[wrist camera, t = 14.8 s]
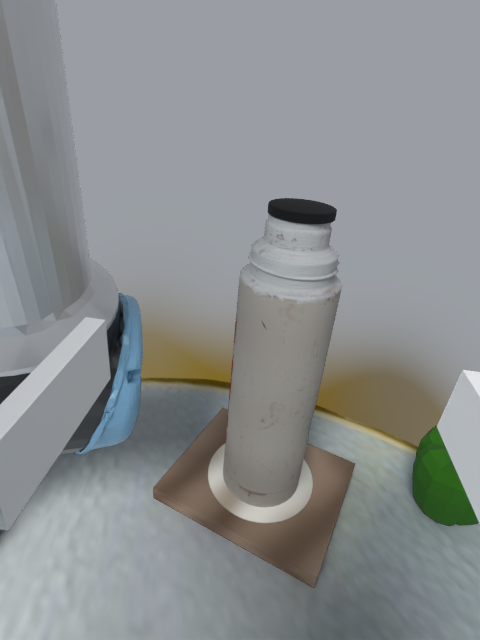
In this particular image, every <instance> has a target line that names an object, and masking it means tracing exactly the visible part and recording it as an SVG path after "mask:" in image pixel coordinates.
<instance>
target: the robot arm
mask: <svg viewBox="0 0 480 640" xmlns="http://www.w3.org/2000/svg"><path fill="white" fill-rule="evenodd" d="M142 348H143V347H142V322H141V314H140V308H139V304H138V302H137V300H136V299H135V298H134V297H131V296H128V295H127V296H126V295H123V294H122V293H118V289H117V286H116V284H115V282H114V280H113V277H112V276H111V274H110V273H109V272H108V271H107V270H106V269H105V268H104V267H103V266H101V264H99V263H98V262H96V261H95V260H93V259H91V258H90V257H89V249H88V241H87V234H86V227H85V219H84V211H83V204H82V196H81V188H80V180H79V173H78V166H77V158H76V150H75V143H74V135H73V127H72V119H71V113H70V105H69V96H68V89H67V82H66V74H65V67H64V58H63V52H62V43H61V35H60V28H59V20H58V13H57V5H56V0H0V529H1V530H7V531H9V529H10V528H11V526H12V525H13V523H14V522H15V520H16V519H17V517H18V516H19V514H20V513H21V511H22V510H23V508H24V507H25V505H26V504H27V502H28V501H29V499H30V498H31V496H32V495H33V493H34V492H35V490H36V489H37V487H38V486H39V485H40V483H41V482H42V480H43V479H44V477H45V476H46V474H47V473H48V471H49V470H50V468H51V467H52V465H53V464H54V462H55V461H56V459H57V458H58V456H59V455H60V454H67V453H74V454H85V453H87V452H88V451H90V450H92V449H98V448H103V447H108V446H113V445H117V444H119V443H121V442H123V441H124V440H126V439H127V438H128V437H129V436H130V434H131V433H132V431H133V429H134V427H135V424H136V420H137V416H138V410H139V403H140V394H141V376H140V372H141V365H142V353H143V349H142ZM437 428H438V431H439V433H440V435H441V438H442V440H443V442H444V444H445V447H446V449H447V451H448V453H449V456H450V458H451V460H452V462H453V465H454V467H455V469H456V471H457V474H458V476H459V478H460V480H461V483H462V485H463V487H464V490H465V492H466V494H467V496H468V499H469V501H470V503H471V505H472V508H473V510H474V512H475V514H476V517H477V519H478V521H479V523H480V372H474V371H466V370H463V371H462V372H461V375H460V377H459V379H458V381H457V384H456V386H455V388H454V390H453V393H452V395H451V397H450V399H449V401H448V403H447V406H446V408H445V410H444V412H443V415H442V417H441V419H440V421H439V423H438V425H437Z"/></svg>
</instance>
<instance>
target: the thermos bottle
mask: <svg viewBox="0 0 480 640" xmlns="http://www.w3.org/2000/svg"><path fill="white" fill-rule="evenodd" d="M336 211H337V210H336V209H335V208H334V207H332V206H330V205H328V204H325V203H321V202H317V201H311V200H304V199H293V198H291V199H290V198H284V199H275V200H271V201H270V202H269V205H268V213H269V217H268V219H267V220H266V224H265V233H264V237H262V238H260V239H258V240H256V241H255V242H254V243H253V244H252V249H251V252H250V253H249V257H248V258H249V261H250V264H248V265H246V266H245V267H243V269H242V270H241V272H240V279H239V290H238V302H237V313H236V325H235V337H234V348H233V359H232V373H231V383H230V394H229V406H228V417H227V429H226V440H225V452H224V463H223V478H224V481H225V484H226V486H227V488H228V489H229V491H230V492H231V493H232V494H233V495H234V496H235V497H236V498H238V499H239V500H240V501H242V502H244V503H246V504H248V505H252V506H256V507H274V506H277V505H280V504H282V503H284V502H286V501H287V500H288V499H290V498H291V497H292V496H293V494H294V493H295V491H296V489H297V487H298V483H299V478H300V474H301V469H302V465H303V460H304V456H305V451H306V447H307V441H308V435H309V428H310V424H311V420H312V417H313V413H314V410H315V406H316V402H317V397H318V392H319V388H320V384H321V379H322V374H323V370H324V366H325V361H326V356H327V352H328V347H329V342H330V338H331V334H332V329H333V325H334V321H335V316H336V311H337V307H338V303H339V298H340V293H341V287H342V285H341V282H340V280H339V279H338V278H337V276H335V274H337V272H338V269H337V265H338V264H339V261H338V254H337V252H336V251H335V250H334V249H333V248H332V247H331V246H330V245H329V241H330V236H331V230H332V228H331V226H330V224H331V222H333V221H334V220H335V217H336Z"/></svg>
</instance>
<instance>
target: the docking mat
mask: <svg viewBox="0 0 480 640" xmlns="http://www.w3.org/2000/svg"><path fill="white" fill-rule="evenodd" d="M227 417H228V410H227V409H225V408H222V410H221V411H220V412H219V413H218V414H217V415H216V416H215V418H214V419H213V420H212V421H211V422H210V423H209V424H208V426H207V427H206V428H205V429H204V430H203V431H202V432H201V434H200V435H199V436H198V437H197V438H196V439H195V440H194V442H193V443H192V444H191V445H190V446H189V447H188V449H187V450H186V451H185V452H184V453H183V454H182V455H181V457H180V458H179V459H178V460H177V461H176V462H175V463H174V465H173V466H172V467H171V468H170V469H169V470H168V471H167V473H166V474H165V475H164V476H163V477H162V478H161V479H160V481H159V482H158V483H157V484H156V485H155V486H154V487H153V493H154V498H155V499H157V500H159V501H160V502H162V503H164V504H166V505H168V506H169V507H171V508H173V509H175V510H176V511H178V512H180V513H182V514H184V515H185V516H187V517H189V518H191V519H192V520H194V521H196V522H198V523H200V524H201V525H203V526H205V527H207V528H208V529H210V530H212V531H214V532H216V533H217V534H219V535H221V536H223V537H224V538H226V539H228V540H230V541H232V542H233V543H235V544H237V545H239V546H240V547H242V548H244V549H246V550H247V551H249V552H251V553H253V554H255V555H256V556H258V557H260V558H262V559H263V560H265V561H267V562H269V563H271V564H272V565H274V566H276V567H278V568H279V569H281V570H283V571H285V572H287V573H288V574H290V575H292V576H294V577H295V578H297V579H299V580H301V581H303V582H304V583H306V584H308V585H310V586H311V587H313V588H314V587H315V584H316V581H317V578H318V575H319V572H320V569H321V566H322V563H323V560H324V557H325V554H326V551H327V548H328V545H329V542H330V538H331V535H332V532H333V529H334V526H335V523H336V520H337V517H338V514H339V511H340V508H341V505H342V502H343V499H344V496H345V493H346V490H347V487H348V484H349V481H350V478H351V475H352V472H353V469H354V466H355V463H352V462H350V461H348V460H345V459H343V458H340V457H338V456H336V455H333V454H331V453H329V452H326V451H324V450H322V449H319V448H317V447H314V446H312V445H310V444H307V447H306V451H305V456H304V460H303V465H302V469H301V474H300V478H299V483H298V487H297V489H296V491H295V493H294V494H293V496H292V497H291V498H290V499H288V500H287V501H286V502H284V503H282V504H280V505H277V506H274V507H256V506H252V505H248V504H246V503H244V502H242V501H240V500H239V499H238V498H236V497H235V496H234V495H233V494H232V493H231V492H230V491H229V489H228V488H227V486H226V484H225V481H224V478H223V463H224V452H225V440H226V429H227Z"/></svg>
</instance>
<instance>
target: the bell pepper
mask: <svg viewBox="0 0 480 640" xmlns="http://www.w3.org/2000/svg"><path fill="white" fill-rule="evenodd" d="M413 494H414V498H415V500H416V502H417V504H418V505H419V507H420V508H421V509H422V511H423V512H424V514H426V515H427V516H429V517H430V518H431V519H433V520H434V521H436V522H437V523H440V524H444V525H448V526H453V525H454V524H455V523H456V524H458V525H473V524H478V523H479V521H478V519H477V517H476V514H475V512H474V510H473V508H472V505H471V503H470V501H469V499H468V496H467V494H466V492H465V490H464V487H463V485H462V483H461V480H460V478H459V476H458V474H457V471H456V469H455V467H454V465H453V462H452V460H451V458H450V456H449V453H448V451H447V449H446V447H445V444H444V442H443V440H442V438H441V435H440V433H439V431H438V428H437V426H435V427H434V428H432V429H431V430H430V431H429V432H428V433H427V434H426V435H425V436H424V437H423V438H422V439H421V442H420V444H419V447H418V450H417V452H416V459H415V462H414V465H413Z"/></svg>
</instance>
